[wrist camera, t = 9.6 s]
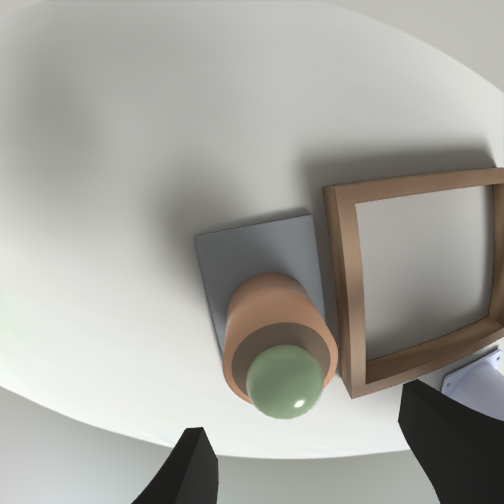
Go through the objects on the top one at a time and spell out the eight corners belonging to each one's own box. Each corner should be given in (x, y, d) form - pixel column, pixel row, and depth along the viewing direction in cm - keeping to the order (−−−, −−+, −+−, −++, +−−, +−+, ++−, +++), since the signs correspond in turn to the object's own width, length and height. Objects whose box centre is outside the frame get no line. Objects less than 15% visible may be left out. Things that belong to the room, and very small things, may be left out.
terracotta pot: (314, 339, 19) (356, 432, 10) (237, 354, 19) (236, 456, 10) (305, 264, 18) (357, 333, 9) (219, 280, 18) (202, 363, 9)
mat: (328, 366, 20) (329, 370, 20) (232, 385, 20) (232, 389, 20) (310, 214, 18) (312, 215, 17) (194, 236, 18) (193, 237, 17)
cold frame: (493, 322, 20) (509, 333, 18) (341, 379, 20) (351, 399, 18) (497, 167, 17) (518, 168, 15) (322, 186, 17) (334, 187, 15)
